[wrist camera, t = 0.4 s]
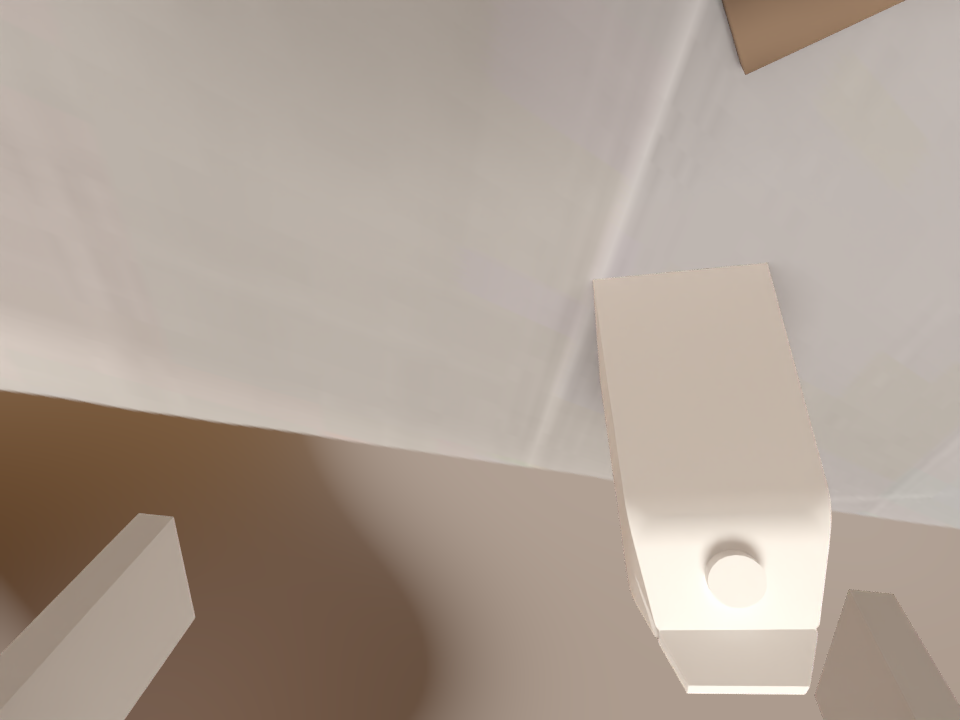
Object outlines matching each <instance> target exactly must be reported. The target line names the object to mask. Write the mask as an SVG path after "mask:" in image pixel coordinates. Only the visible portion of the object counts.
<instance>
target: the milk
mask: <svg viewBox="0 0 960 720" xmlns="http://www.w3.org/2000/svg"><path fill="white" fill-rule="evenodd" d="M593 291H594V305H595V319H596V333H597V346H598V360H599V374H600V385H601V392H602V399H603V406H604V413H605V421H606V428H607V435H608V442H609V449H610V457H611V464H612V471H613V478H614V486H615V493H616V500H617V507H618V514H619V521H620V528H621V536H622V543H623V551H624V557H625V565H626V571H627V578H628V584H629V588H630V592H631V594H632V597H633V600H634V601H635V603H636V605H637V607H638V609H639V610H640V612H641V614H642V616H643V617H644V619H645V621H646V622H647V624H648V626H649V628H650V630H651V631H652V633H653V634H654V636H655V638H657V639H659V640H658V643H659V645H660V647H661V649H662V650H663V652H664V654H665V656H666V657H667V659H668V661H669V662H670V664H671V666H672V668H673V670H674V671H675V673H676V675H677V677H678V678H679V680H680V682H681V684H682V685H683V687H684V689H685V691H686V692H687V693H700V694H701V693H703V694H806V692H807V691H808V689H809V687H810V682H811V676H812V670H813V664H814V657H815V650H816V644H817V638H818V632H817V630H816V628H817V627H818V626H819V624H820V616H821V608H822V600H823V592H824V584H825V576H826V567H827V559H828V551H829V543H830V532H831V501H830V495H829V490H828V485H827V481H826V477H825V474H824V470H823V466H822V463H821V459H820V455H819V452H818V448H817V444H816V441H815V437H814V433H813V429H812V426H811V422H810V418H809V415H808V411H807V407H806V404H805V400H804V396H803V393H802V389H801V385H800V381H799V378H798V374H797V370H796V367H795V363H794V359H793V356H792V352H791V348H790V344H789V341H788V337H787V333H786V330H785V326H784V322H783V319H782V315H781V311H780V308H779V304H778V300H777V296H776V293H775V289H774V285H773V282H772V278H771V274H770V271H769V267H768V263H758V264H748V265H738V266H728V267H717V268H707V269H697V270H687V271H676V272H666V273H656V274H646V275H635V276H625V277H615V278H605V279H595V280H593Z"/></svg>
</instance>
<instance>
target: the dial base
mask: <svg viewBox="0 0 960 720" xmlns="http://www.w3.org/2000/svg"><path fill="white" fill-rule="evenodd" d="M903 1H905V0H722V2H723V6H724V9H725V13H726V16H727V19H728V23H729V26H730V30H731V33H732V36H733V40H734V43H735V47H736V50H737V53H738V57H739V60H740V64H741V66H742V68H743V70H744V73H745V75H746V74H749V73H751V72H753V71H755V70H757V69H759V68H761V67H764V66H766V65H768V64H770V63H772V62H774V61H776V60H779V59H781V58H783V57H785V56H787V55H789V54H791V53H794V52H796V51H798V50H800V49H802V48H804V47H806V46H808V45H811V44H813V43H815V42H817V41H819V40H821V39H823V38H826V37H828V36H830V35H832V34H834V33H836V32H838V31H841V30H843V29H845V28H847V27H849V26H851V25H853V24H856V23H858V22H860V21H862V20H864V19H866V18H868V17H871V16H873V15H875V14H877V13H879V12H881V11H883V10H886V9H888V8H890V7H892V6H894V5H896V4H898V3H901V2H903Z"/></svg>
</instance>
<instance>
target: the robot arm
mask: <svg viewBox="0 0 960 720" xmlns="http://www.w3.org/2000/svg"><path fill="white" fill-rule="evenodd" d="M194 619H195V614H194V609H193V605H192V600H191V596H190V591H189V586H188V581H187V577H186V572H185V568H184V563H183V559H182V554H181V549H180V544H179V540H178V535H177V530H176V526H175V521H174V517H169V516H159V515H151V514H141V513H139V514H138V515H137V516H136V517H135V518H134V519H133V520H132V521H131V522H130V523H129V524H128V525H127V526H126V527H125V528H124V529H123V530H122V531H121V532H120V533H119V534H118V535H117V536H116V537H115V538H114V539H113V540H112V541H111V542H110V543H109V544H108V545H107V546H106V547H105V548H104V549H103V550H102V552H100V553H99V554H98V555H97V556H96V558H94V559H93V561H91V562H90V564H89V565H88V566H87V567H86V568H85V569H84V570H83V571H82V572H81V573H80V574H79V575H78V576H77V577H76V578H75V579H74V580H73V581H72V582H71V583H70V584H69V585H68V586H67V587H66V588H65V589H64V590H63V591H62V592H61V593H60V594H59V595H58V596H57V597H56V598H55V599H54V600H53V601H52V602H51V603H50V604H49V605H48V606H47V607H46V609H44V610H43V611H42V612H41V613H40V614H39V615H38V616H37V617H36V619H34V621H33V622H31V624H30V625H29V626H28V627H27V628H26V629H25V630H24V631H23V632H22V633H21V634H20V635H19V636H18V637H17V638H16V639H15V640H14V641H13V642H12V643H11V644H10V645H9V646H8V647H7V648H6V649H5V650H4V651H3V652H2V653H1V654H0V720H124V719H125V718H126V716H127V715H128V714H129V712H130V711H131V709H132V708H133V706H134V705H135V703H136V702H137V700H138V699H139V698H140V696H141V695H142V693H143V692H144V691H145V689H146V688H147V686H148V685H149V683H150V682H151V680H152V679H153V678H154V676H155V675H156V673H157V672H158V670H159V669H160V668H161V666H162V665H163V663H164V662H165V660H166V659H167V657H168V656H169V655H170V653H171V652H172V650H173V649H174V647H175V646H176V644H177V643H178V642H179V640H180V639H181V637H182V636H183V634H184V633H185V632H186V630H187V629H188V627H189V626H190V624H191V623H192V621H193V620H194ZM815 698H816V701H817V704H818V706H819V709H820V712H821V715H822V717H823V720H960V705H959V703H958V702H957V700H956V698H955V697H954V695H953V694H952V692H951V690H950V688H949V686H948V685H947V683H946V681H945V680H944V679H943V676H942V675H941V673H940V671H939V670H938V668H937V666H936V665H935V663H934V661H933V660H932V658H931V656H930V655H929V653H928V651H927V650H926V648H925V646H924V644H923V643H922V641H921V639H920V638H919V636H918V634H917V633H916V631H915V629H914V628H913V626H912V624H911V622H910V621H909V619H908V618H907V616H906V614H905V613H904V611H903V609H902V607H901V606H900V604H899V602H898V601H897V599H896V597H895V596H894V594H888V593H879V592H870V591H860V590H850V589H849V590H848V593H847V597H846V599H845V603H844V606H843V609H842V612H841V615H840V618H839V621H838V624H837V627H836V630H835V633H834V636H833V640H832V643H831V646H830V649H829V652H828V655H827V658H826V661H825V664H824V667H823V670H822V674H821V677H820V680H819V683H818V686H817V689H816V692H815Z"/></svg>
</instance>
